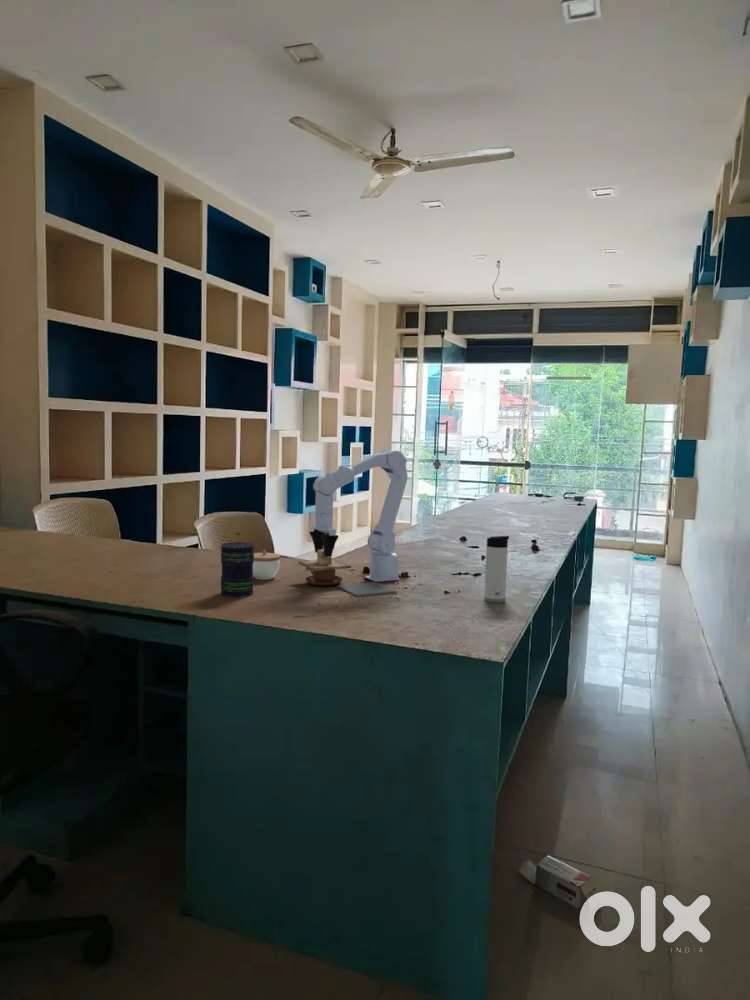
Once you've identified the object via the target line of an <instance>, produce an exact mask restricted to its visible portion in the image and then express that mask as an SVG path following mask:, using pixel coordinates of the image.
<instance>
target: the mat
mask: <svg viewBox="0 0 750 1000" xmlns="http://www.w3.org/2000/svg"><path fill="white" fill-rule="evenodd" d="M336 585H337V586H336V588H338V589H340V590H343V591H344V592H346V593H348V594H350V595H352V596H354V597H357V598H358V597H366V596H367V597H368V596H369V597H370V596H378V595H380V596H381V595H388V594H397V593H398V591H397V590H395V589H393V588H391V587H388V586H387V585H383V584H381V583H379V582H375V581H372V582H362V583H351V584H348V583H347V584H339V585H338V584H336Z"/></svg>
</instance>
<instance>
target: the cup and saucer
mask: <svg viewBox="0 0 750 1000" xmlns="http://www.w3.org/2000/svg"><path fill="white" fill-rule="evenodd" d="M310 574H312V575H309V576H307V577H305V581H306V582H307V583H308V584H311V585H314V586H319V587H320V586H321V587H330V586H336V585H338V584H339V585H340V583H342V581H343V577H341V576H338V575H336V569H332V570H318V571H313V570H311V569H310Z"/></svg>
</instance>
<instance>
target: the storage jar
mask: <svg viewBox="0 0 750 1000" xmlns="http://www.w3.org/2000/svg"><path fill="white" fill-rule="evenodd" d="M235 535H237V536H239V535H241V534H240V532H237V533H235ZM220 545H221V546H220V548H221V550H220V558H221V559H220V563H221V576H220V589H221V590H220V595H221V596H223V597H226V598H245V597H250V596H253V595H254V590H253V589H254V585H255V584H254V583H255V581H254V576H253V563H254V558H253V557H254V553H255V552H254V550H255V549H254V547H255V546H254V543H250V542H240V541H238V542H226V543H222V544H220Z"/></svg>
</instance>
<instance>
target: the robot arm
mask: <svg viewBox="0 0 750 1000" xmlns="http://www.w3.org/2000/svg"><path fill="white" fill-rule="evenodd" d="M407 461H408V460H407V458H406V457H405V455H404V454H403V453H402V451H399V450H389V449H384V450H381V451H379V452H375V453H374V454H372V455H370V456H368V457H366V458H364V459H362V460H361V461H359V462H357V463H355V464H354V465H351V466H348V465H339V466H337V469H334V470H333V471H331V472H330V471H327V472H326V473H325V476H324V475H321V476H318V477H316V478H315V480H314V483H313V484H312V488H313V490H314V492H315V503H314V504H315V506H314V508H315V509H314V510H315V511H314V512H315V513H314V519H315V520H314V523H312V525H311V529H312V531H309V535H310V537H311V539H312V543H313V547H314V548H313V549H314V553H316V554H317V550H319V549H324V555H325V557H329V556H332V557H333V555H332V554H333V551H334V548H335V545H336V543H337V540H338V539H339V535H338V534H337V529H335V527H334V526H333V525H334V522H333V521H334V519H333V518H334V517H333V515H334V494H335V492H336V490H338V489H340V488H343V486H346V485H347V484H350V483H351V482H353V481H354V480H355V477H356V476H358V475H359V474H362V473H365V472H367V471H369V470H371V469H373V468H380V469H382V470H383V471H385V473H386V474H387V476H388V477H389V478H390V479H389V480H390V482H389V484H388V488H387V492H386V495H385V499H384V503H383V506H382V509H381V512H380V517H379V520H378V522H377V524H376V525H375V526H374V528H372V532H371V533H370V535H369V536H368V538H367V546H368V547H369V549H370V550H369V551H370V557H369V559H370V560H369V562H370V563H369V575H365V576H364V578H366V579H367V580H371V581H372V582H377V583H379V582H388V581H390V582H391V581H400V578H399V575H400V573H399V571H400V570H399V569H400V559H399V555H398V554H396V553H395V552H393V551H394V550H395V547H396V541H395V539H396V531H395V524H396V520H397V517H398V513H399V510H400V506H401V502H402V499H403V495H404V492H405V490H406V485H407V482H408V472H407Z"/></svg>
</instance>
